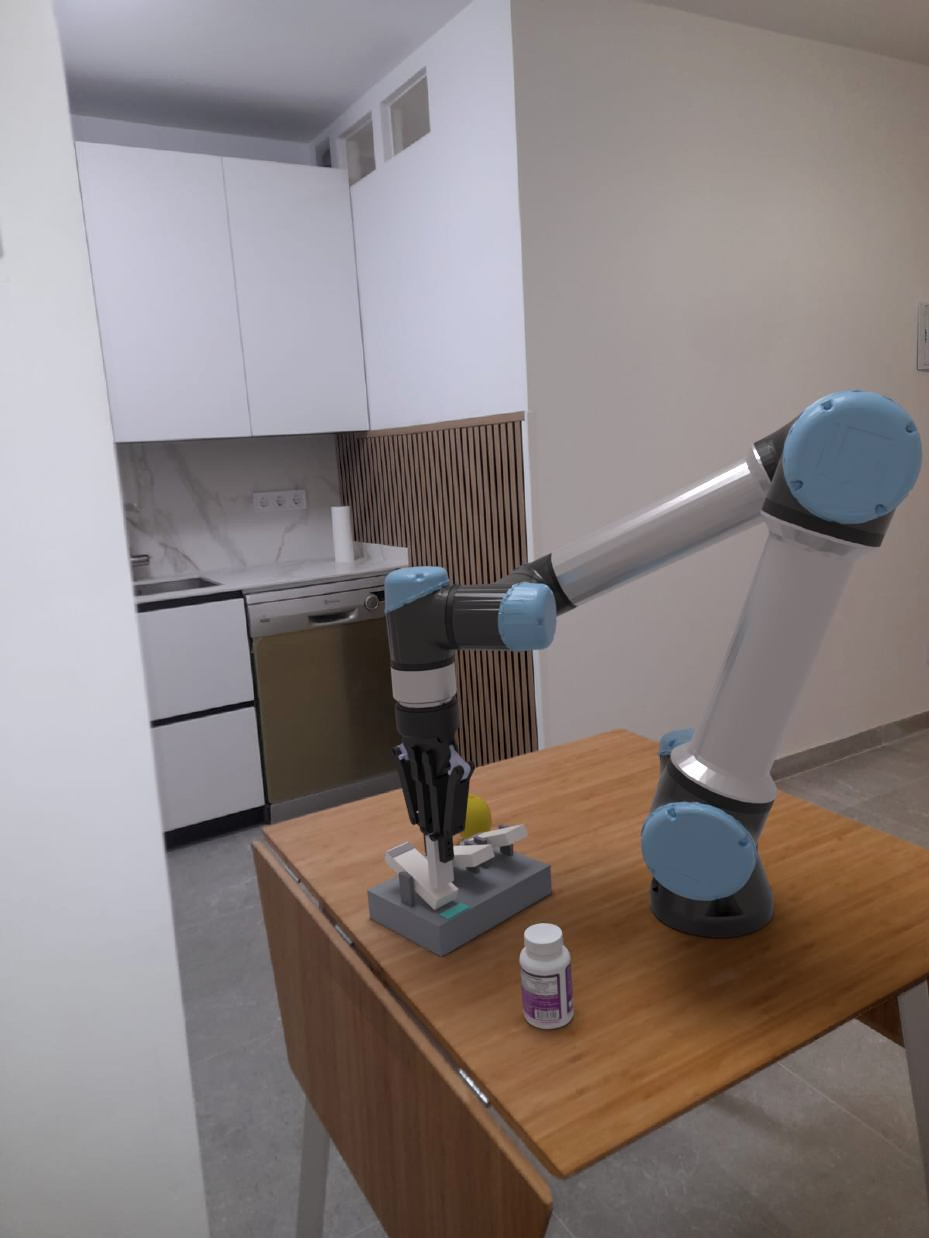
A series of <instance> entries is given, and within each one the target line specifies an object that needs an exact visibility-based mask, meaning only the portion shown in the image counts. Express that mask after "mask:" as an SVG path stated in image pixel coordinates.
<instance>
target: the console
mask: <svg viewBox="0 0 929 1238" xmlns="http://www.w3.org/2000/svg"><path fill="white" fill-rule="evenodd" d="M497 827H498V829H503V828H508V827H510V826H509V825H507V824H503V823H500V824H498V826H497ZM473 839H474V842H471V841H469V840H466V841H464V846H468V845H487V839H484V838H481V837H479V836H475V837H473ZM458 846H461V845H460V844H459V845H458ZM492 849H493V852H494V856H495V857H493V858H491V859H489V860H487V861H485V862H483V863H481V864H479V865H477V866H475V867H453V874H454V881H452V883H453V884H454V885H455V886H456V887H457V888H458V893H457V897H456V899H455V900H453V901H451V902H449V903H447V904H445V905H443V906H441V907H440V908H438V909H436V910H434V909H433V908H432V907H431V906H430V905H429V904H428V903H427V902H426V901H425V900H424V899H423V898H422V897H421V896H420V895H419V894H418V893H417V892H416V891H415V890H414V887H413V876H412V875H409V874H407V873H405V872H403V871H402V872H399V875H398V874H397V875H396V876H393V877H391V878H389V879H387V880H385V881H383V882H381V883H379V884H377V885H375V886H372V887H371V888H369V889H367V890H366V893H367V900H368V901H367V903H368V912H369V919H370V920H373V921H374V922H376V923H377V924H380V925H382V926H383V927H385V928H388V930H391V931H393V932H394V933H396V934H398V935H400V936H402V937H404V938H406V939H408V940H409V941H411V942H413V943H415V944H416V945H418V946H421V947H422V948H424V949H426V950H427V951H428V952H429V951H430V952H431V953H434V954H435V955H437V956H439V957H441V958H442V957H444V956H447V955H448V954H449V953H450V952H453V951H454V950H456V949H458V948H459V947H461V946H463V945H464V944H466V943H468V942H470V941H471V940H474V939H475V938H477V937H478V936H481V934H483V933H486V932H487V931H490V929H492V928H493V927H496V926H498V925H499V924H501V923H502V922H504V921H506V920H508V919H509V918H511V917H513V916H514V915H516V914H518V913H520V912H522V911H523V910H525V909H526V908H528V907H530V906H532V905H533V904H535V903H536V902H538V901H540V900H542V899H544V898H546V897H548V896H549V895H550V894H552V893H553V890H552V888H553V887H552V871H551V870H552V868H551V865H550V864H549V863H546V862H543V861H541V860H538V859H536V858H533V857H531V856H527V855H525V854H522V853H519V852H517V851H515V850H514V843H513V844H511V845H507V846H502V847H496V848H492ZM427 860H428V859H427Z"/></svg>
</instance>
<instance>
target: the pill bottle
mask: <svg viewBox="0 0 929 1238" xmlns="http://www.w3.org/2000/svg"><path fill="white" fill-rule="evenodd" d="M523 933H524V934H523V939H524V940H523V941H524V943H523V944H524V947H523V948H522V950H521V952H520V954H519V973H520V986H521V987H520V989H521V1001H522V1003H521V1004H522V1009H523V1010H522V1011H523V1016H524V1018H525V1020H526V1022H528V1023H529V1024H530V1025H531V1026H533V1027H535V1028H538V1029H542V1030H552V1029H553V1030H554V1029H558V1028H562V1027H564V1026H566V1025H567V1024H569V1022H570V1021H571V1020H572V1018H573V1017H574V1013H575V1012H574V994H573V993H574V991H573V989H574V988H573V978H572V977H573V975H572V973H573V972H572V960H571V959H572V957H571V954H570V952H569V950H568V948H567V947H566V946H565V945H564V937H563V931H562V929H561V928H560V927H559V926H558V925H555V924H552V923H545V922H544V923H543V922H542V923H536V924H532V925H530V926H529V927H527V928H526V929H525V931H524V932H523Z"/></svg>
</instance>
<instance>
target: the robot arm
mask: <svg viewBox="0 0 929 1238" xmlns="http://www.w3.org/2000/svg"><path fill="white" fill-rule="evenodd" d="M922 464H923V445H922V439H921V435H920V432H919V430H918V427H917V425H916V423H915V421H914V419H913V418H912V416H911V415H910V414H909V413H908V412H907V411H906V409H904V407H903V406H901V405H900V404H899V403H897V402H896V401H894V400H893V399H892V398H890V397H888V396H885V395H883V394H882V395H881V394H879V393H878V392H875V391H868V390H867V391H865V390H860V389H846V390H842V391H836V392H832V393H829V394H827V395H825V396H822V397H821V398H819V399H817V400H816V401H814V402H813V403H811V404H809V405H808V406H807V407H806V408H805V409H804V410H803V411H801V413H800V414H798V415H797V416H795V417H794V418H793V419H791V421H789V422H788V423H786V424H785V425H783V426H782V427H780V428H779V429H777V430H776V431H774V432H772V433H770V434H768V435H767V436H764V437H762V438H760V439H759V440H757V441H754V442H753V443H750V445H749V449H748V451H747V453H746V455H745V456H744V457H742V458H741V459H738V460H736V461H734V462H732V463H730V464H728V465H726V466H724V467H722V468H720V469H718V470H716V471H714V472H712V473H710V474H708V475H706V476H704V477H701V478H700V479H698V480H695V481H694V482H692V483H689V484H687V485H686V486H684V487H682V488H680V489H677V490H675V491H674V492H671V493H669V494H668V495H666V496H664V497H661V498H659V499H657V500H655V501H653V502H651V503H649V504H646V505H645V506H643V507H640V508H639V509H637V510H634V511H633V512H631V513H629V514H627V515H624V516H623V517H620V518H618V519H616V520H615V521H612V522H610V523H609V524H606V525H604V526H602V527H600V528H598V529H596V530H594V531H591V532H590V533H588V534H586V535H584V536H582V537H580V538H577V539H575V540H574V541H572V542H569V543H568V544H567V543H566V545H564V546H561V547H559V548H558V549H554V550H553V551H552V552H550V553H548V554H546V555H543V556H541V557H539V558H537V559H535V560H534V561H531V562H530V561H529V562H526V563H524V564H522V565H520V566H518V567H516V568H515V569H513V570H512V571H511V572H510V573H509V574H508V575H505V576H504V577H501V578H500V579H498V580H496V581H495V582H493V583H484V584H483V583H480V584H457V583H456V584H455V583H453V584H452V583H451V581H450V579H449V575H448V571H447V570H446V568H444V567H441V566H432V565H431V566H430V565H424V566H412V567H404V568H400V569H396V570H393V571H390V572H389V573H387V575H386V576H385V578H384V584H383V585H384V586H383V587H384V614H385V620H386V627H387V637H388V646H389V653H390V655H389V656H390V677H391V686H392V697H393V699H394V700H395V701H396V703H395V704H394V714H395V715H394V716H395V725H396V731H397V733H398V734H399V735H401V736H402V739H401V740H402V742H401V744H399V745H396V746H394V747H391V748H390V749H389V751H390V753H389V754H390V755H391V757H392V759H393V762H394V765H395V766H396V768H397V773H398V777H399V778H398V779H399V782H400V785H401V790H402V794H403V798H404V802H405V806H406V811H407V814H408V818H409V822H410V824H411V825H412V826H415V825H417V826H418V828H419V830H420V832H421V833H422V836H423V845H424V853H425V855H426V856H427V859H428V870H429V882H430V886H432V887H435V888H437V889H439V888H441V887H443V886H445V885H446V884H448V883H450V882H452V881H454V874H453V862H452V860H453V859H454V849H453V848H454V847H453V846H454V838H453V837H454V836H456V835H460V834H459V833H461V832H463V831H464V830H465V823H466V813H467V803H468V796H469V795H470V793H469V792H470V783H471V778H472V776H473V774H474V772H475V770H476V764H475V763H474V761H472V760H469V761H466V760H464V759H463V758H462V757H461V754H459V751H460V750H459V749H460V748H459V746H458V743H457V741H456V740H457V739H456V733H457V731H458V728H459V726H460V723H461V722H460V721H461V720H460V712H459V711H460V710H459V700H458V698H457V697H456V696H455V695H456V694H457V690H458V688H457V679H456V678H457V677H456V676H457V675H456V666H455V664H456V663H455V653H454V652H455V651H496V652H497V651H499V652H501V651H503V652H507V651H508V652H517V653H523V652H526V651H527V652H528V651H538V650H539V651H541V650H545V649H548V648H549V647H550V646H551V644H552V643H553V642H554V637H555V634H556V629H557V617H559V616H563V615H564V614H566V613H568V612H571V611H573V610H575V609H576V608H579V607H581V606H583V605H585V604H587V603H589V602H591V601H593V600H595V599H598V598H600V597H602V596H604V595H606V594H610V593H611V592H613V591H615V590H617V589H620V588H622V587H624V586H626V585H628V584H631V583H634V582H635V581H638V580H641V578H644V577H646V576H648V575H650V574H652V573H655V572H657V571H659V570H661V569H664V568H666V567H668V566H670V565H673V564H675V563H677V562H679V561H682V560H683V559H685V558H688V557H690V556H692V555H695V554H697V553H699V552H701V551H704V550H706V549H708V548H711V547H712V546H714V545H716V544H719V543H721V542H723V541H726V540H728V539H729V538H732V537H734V536H736V535H739V534H741V533H743V532H745V531H748V530H750V529H752V528H753V527H756V526H759V525H760V524H762V523H765V525H766V528H767V530H768V535H767V538H766V540H765V543H764V546H763V549H762V551H761V553H760V557H759V559H758V562H757V564H756V566H755V570H754V573H753V576H752V578H751V581H750V583H749V586H748V588H747V591H746V593H745V596H744V600H743V602H742V605H741V606H740V610H739V612H738V615H737V618H736V620H735V623H734V625H733V628H732V630H731V634H730V637H729V639H728V641H727V645H726V647H725V649H724V652H723V655H722V657H721V660H720V663H719V665H718V668H717V671H716V674H715V676H714V679H713V681H712V683H711V687H710V690H709V691H708V695H707V698H706V699H705V703H704V706H703V708H702V711H701V713H700V716H699V719H698V721H697V724H696V726H695V727H694V728H693V727H692V728H690V727H689V728H682V729H676V730H671V731H669V732H666V733H665V734H663V735H662V736H661V738H660V739H659V744H658V745H659V747H658V752H657V756H658V757H659V777H658V778H659V779H658V782H657V784H656V789H655V792H654V795H653V797H652V801H651V804H650V807H649V811H648V814H647V816H646V819H645V820H644V823H643V824H642V827H641V830H640V837H641V838H640V842H641V843H640V845H641V846H640V848H641V855H642V859H643V861H644V864H645V866H646V867H647V869H648V870H649V872H650V875H651V876H652V879H651V882H650V885H649V905H650V906H649V907H650V909H651V911H652V912H653V914H654V916H655V917H656V918H657V919H658V920H659V921H660V922H662V923H663V924H664V925H667V926H669V927H670V928H673V929H675V930H677V931H680V932H683V933H686V934H690V935H694V936H701V937H709V938H731V937H738V936H744V935H747V934H750V933H754V932H756V931H759V930H760V929H762V928H764V927H765V926H766V925H768V924H769V922H771V920H772V918H773V915H774V893H773V892H774V891H773V888H772V887H771V885H770V882H769V878H768V876H767V873H766V870H765V866H764V864H763V860H762V859H761V856H760V853H759V839H760V836H761V834H762V832H763V829H764V827H765V824H766V822H767V820H768V817H769V814H770V812H771V811H772V810H771V809H772V807H773V805H774V803H775V801H776V797H777V795H778V787H777V785H776V783H775V781H774V779H773V777H772V775H771V773H770V772H771V769H772V768H773V765H774V762H775V759H776V758H777V755H778V753H779V751H780V747H781V745H782V743H783V740H784V738H785V735H786V733H787V730H788V728H789V726H790V723H791V720H792V719H793V716H794V714H795V712H796V708H797V707H798V704H799V702H800V699H801V697H802V694H803V691H804V689H805V686H806V684H807V682H808V680H809V678H810V677H809V676H810V675H811V672H812V670H813V668H814V665H815V662H816V660H817V658H818V655H819V652H820V651H821V648H822V645H823V643H824V641H825V639H826V638H825V637H826V635H827V633H828V631H829V628H830V627H831V624H832V620H833V618H834V616H835V614H836V611H837V609H838V606H839V605H840V601H841V599H842V596H843V595H844V592H845V589H846V587H847V585H848V582H849V579H850V577H851V575H852V572H853V569H854V567H855V565H856V562H858V561H859V560H860V559H862V558H863V557H866V556H868V555H871V554H873V553H875V552H878V551H879V550H880V548H881V545H882V543H883V541H884V538H885V536H886V534H887V532H888V529H889V527H890V524H891V522H892V520H893V517H894V515H895V512H896V510H897V507H899V506H900V505H901V504H902V502H904V500H905V499H906V498H907V497H909V493H910V492H911V491H912V490H913V489H914V487H915V486H916V483H917V481H918V479H919V476H920V473H921V470H922V466H923V465H922Z"/></svg>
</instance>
